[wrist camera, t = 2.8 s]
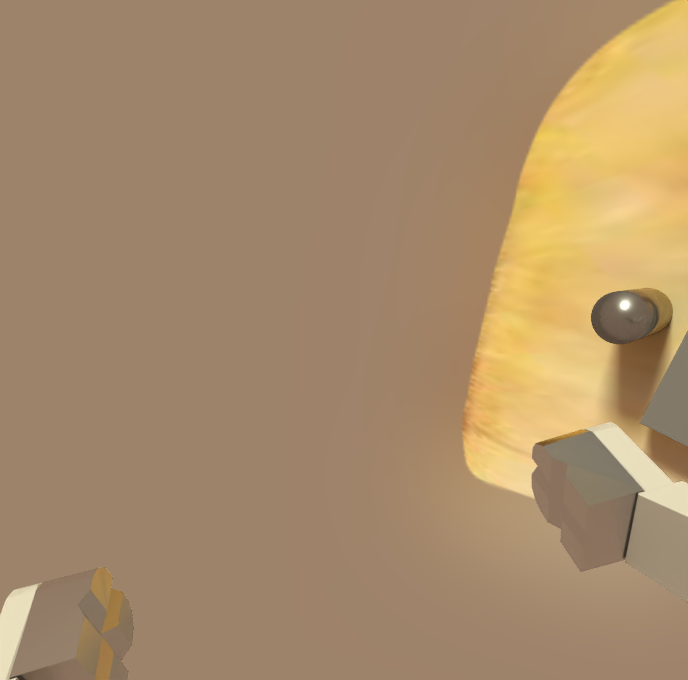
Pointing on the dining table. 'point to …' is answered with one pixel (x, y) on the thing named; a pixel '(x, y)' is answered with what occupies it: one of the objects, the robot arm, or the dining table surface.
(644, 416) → the holder block
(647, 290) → the cylinder
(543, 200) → the dining table surface
